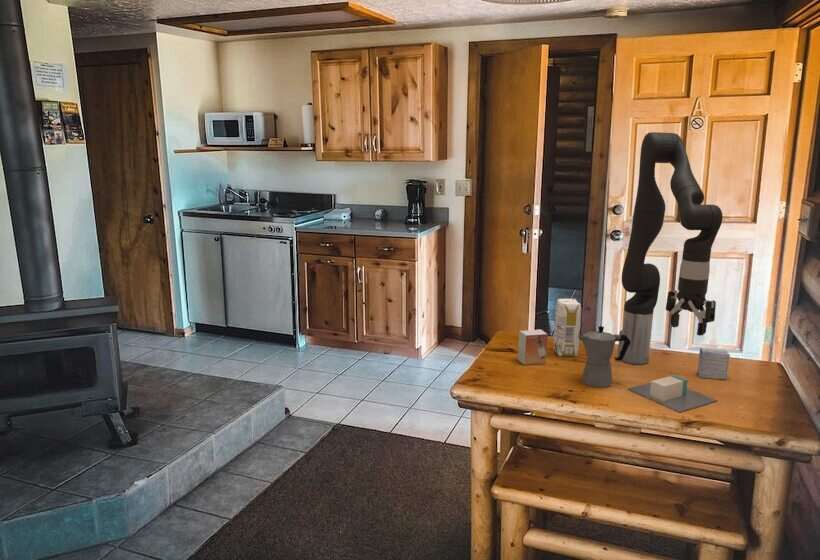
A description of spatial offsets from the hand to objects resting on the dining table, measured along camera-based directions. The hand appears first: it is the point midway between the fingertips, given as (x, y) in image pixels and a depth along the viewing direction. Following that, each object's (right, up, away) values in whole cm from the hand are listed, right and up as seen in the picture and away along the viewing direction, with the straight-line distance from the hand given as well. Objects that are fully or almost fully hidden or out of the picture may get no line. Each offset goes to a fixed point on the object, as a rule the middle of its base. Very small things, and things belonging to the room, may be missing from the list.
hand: (687, 330), depth 173 cm
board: (-3, -19, +3) cm, 20 cm away
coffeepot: (-21, -17, +13) cm, 30 cm away
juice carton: (-25, -11, +38) cm, 47 cm away
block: (-9, -17, 0) cm, 19 cm away
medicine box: (+16, -16, +18) cm, 29 cm away
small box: (-39, -13, +30) cm, 51 cm away
